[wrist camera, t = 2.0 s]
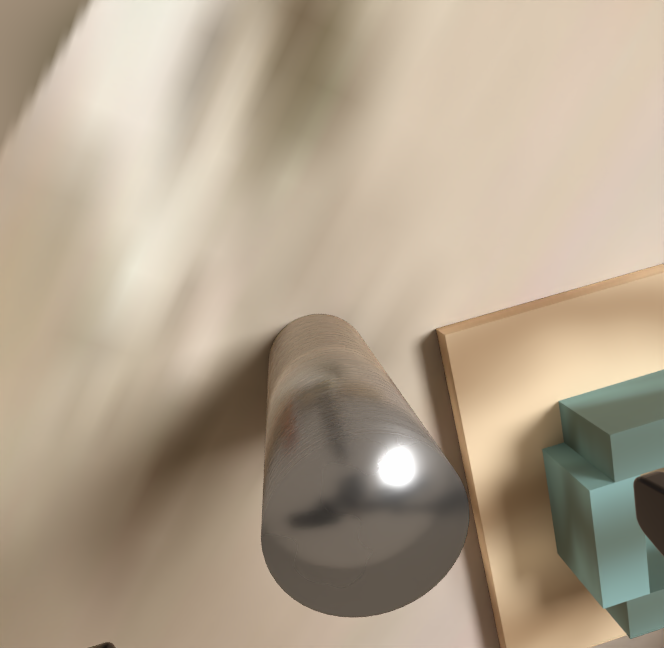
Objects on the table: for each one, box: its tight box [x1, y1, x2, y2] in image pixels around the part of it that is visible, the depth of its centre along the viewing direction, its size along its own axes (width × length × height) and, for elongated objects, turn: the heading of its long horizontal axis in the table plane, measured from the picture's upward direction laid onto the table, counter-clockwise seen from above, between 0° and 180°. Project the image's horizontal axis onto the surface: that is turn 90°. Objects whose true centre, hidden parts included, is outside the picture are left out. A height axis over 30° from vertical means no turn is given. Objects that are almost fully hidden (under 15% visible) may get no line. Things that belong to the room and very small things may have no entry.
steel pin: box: [261, 314, 469, 617], centre depth 13 cm, size 4×4×10 cm
